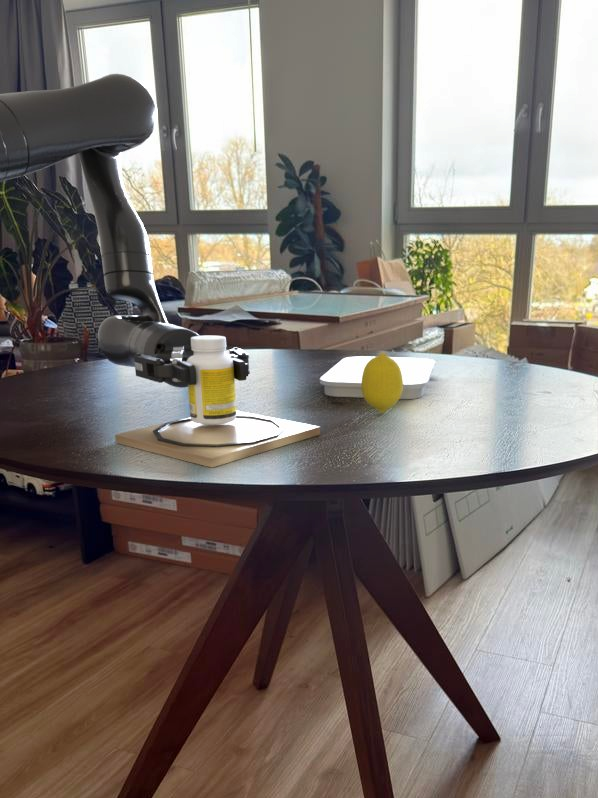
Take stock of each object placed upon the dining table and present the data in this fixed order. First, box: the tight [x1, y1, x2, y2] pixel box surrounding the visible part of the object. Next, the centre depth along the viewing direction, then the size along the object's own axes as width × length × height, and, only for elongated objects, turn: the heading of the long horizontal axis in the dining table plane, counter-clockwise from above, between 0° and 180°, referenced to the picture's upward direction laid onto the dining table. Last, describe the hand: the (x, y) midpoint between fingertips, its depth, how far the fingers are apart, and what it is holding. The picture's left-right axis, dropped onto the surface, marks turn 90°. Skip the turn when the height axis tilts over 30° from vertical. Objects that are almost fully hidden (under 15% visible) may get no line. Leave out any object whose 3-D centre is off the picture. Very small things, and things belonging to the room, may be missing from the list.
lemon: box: [361, 352, 403, 414], centre depth 96 cm, size 6×6×8 cm
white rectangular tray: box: [319, 355, 436, 400], centre depth 118 cm, size 16×26×2 cm, turn 173°
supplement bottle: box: [187, 334, 237, 425], centre depth 85 cm, size 5×5×10 cm
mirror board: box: [114, 410, 321, 468], centre depth 84 cm, size 17×16×1 cm
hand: (218, 373), depth 83 cm, fingers closed on supplement bottle, 5 cm apart
